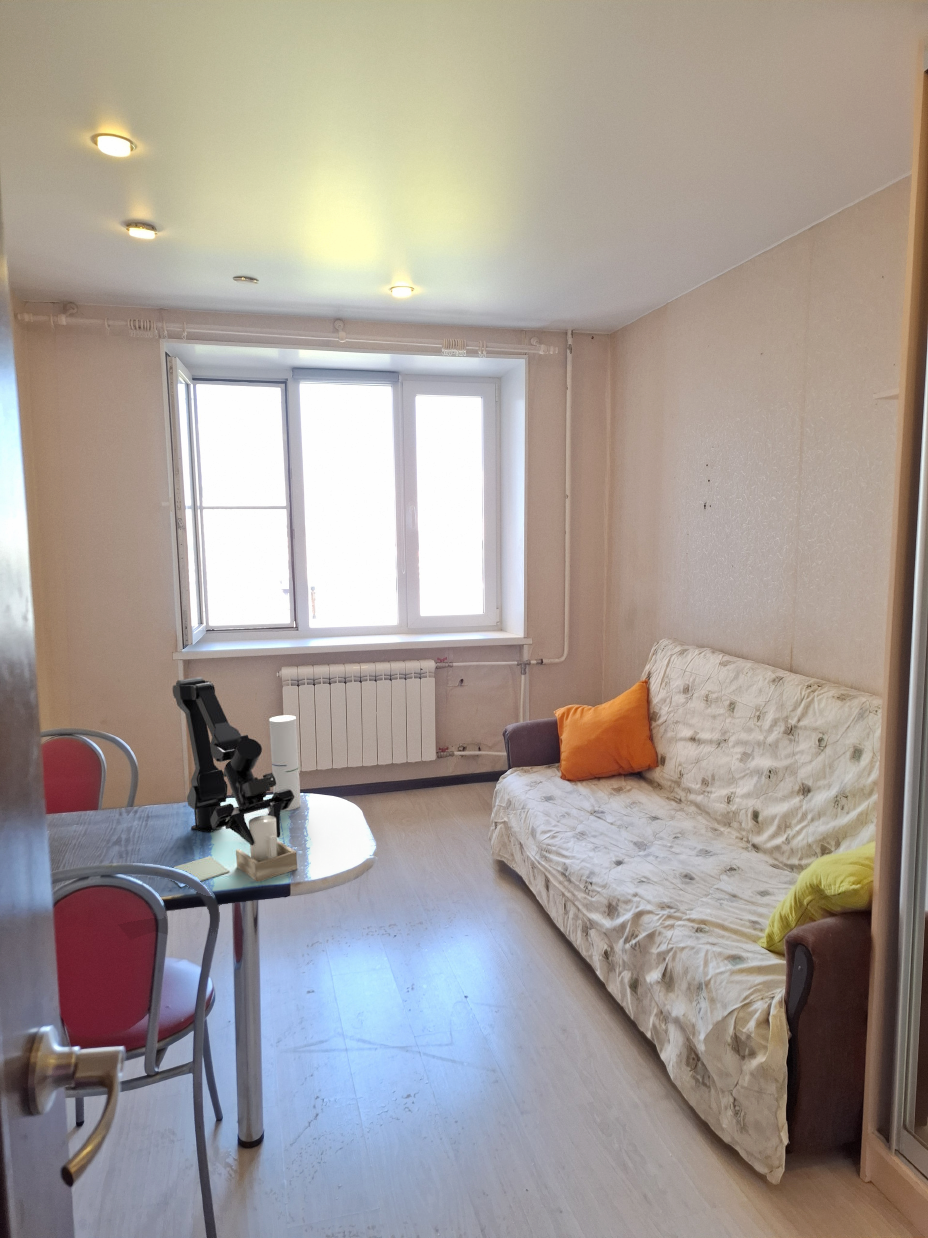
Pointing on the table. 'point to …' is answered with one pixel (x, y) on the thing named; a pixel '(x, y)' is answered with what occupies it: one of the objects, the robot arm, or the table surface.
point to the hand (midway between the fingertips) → (266, 840)
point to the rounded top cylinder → (263, 837)
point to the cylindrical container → (285, 756)
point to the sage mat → (204, 868)
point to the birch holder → (268, 863)
